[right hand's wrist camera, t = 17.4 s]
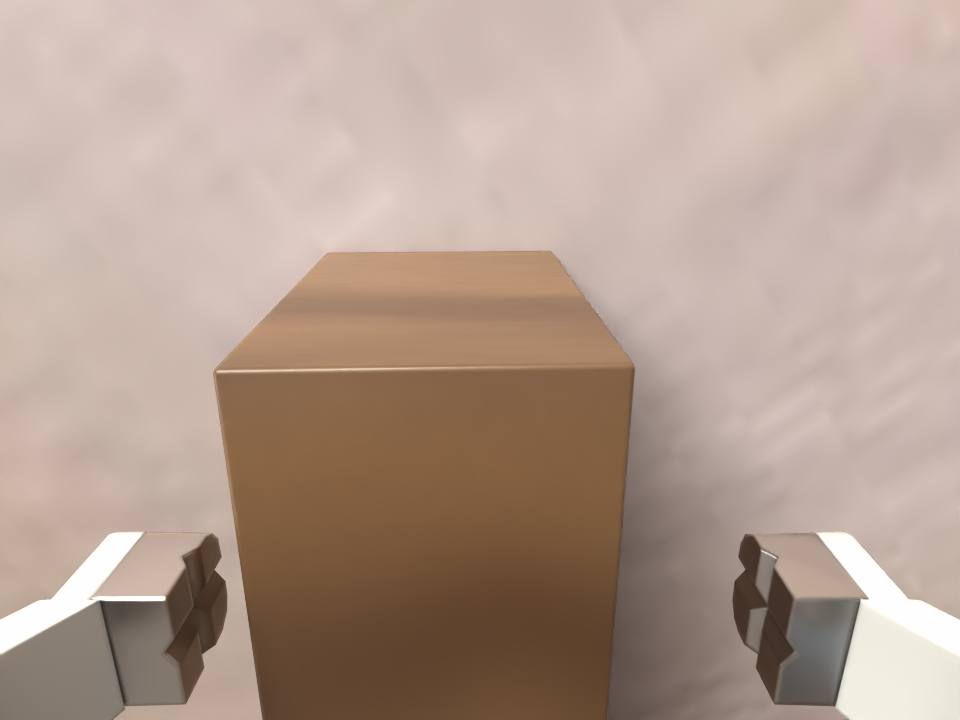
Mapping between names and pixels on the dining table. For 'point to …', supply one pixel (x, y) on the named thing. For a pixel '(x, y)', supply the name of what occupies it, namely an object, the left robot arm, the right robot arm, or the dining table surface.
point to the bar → (429, 489)
